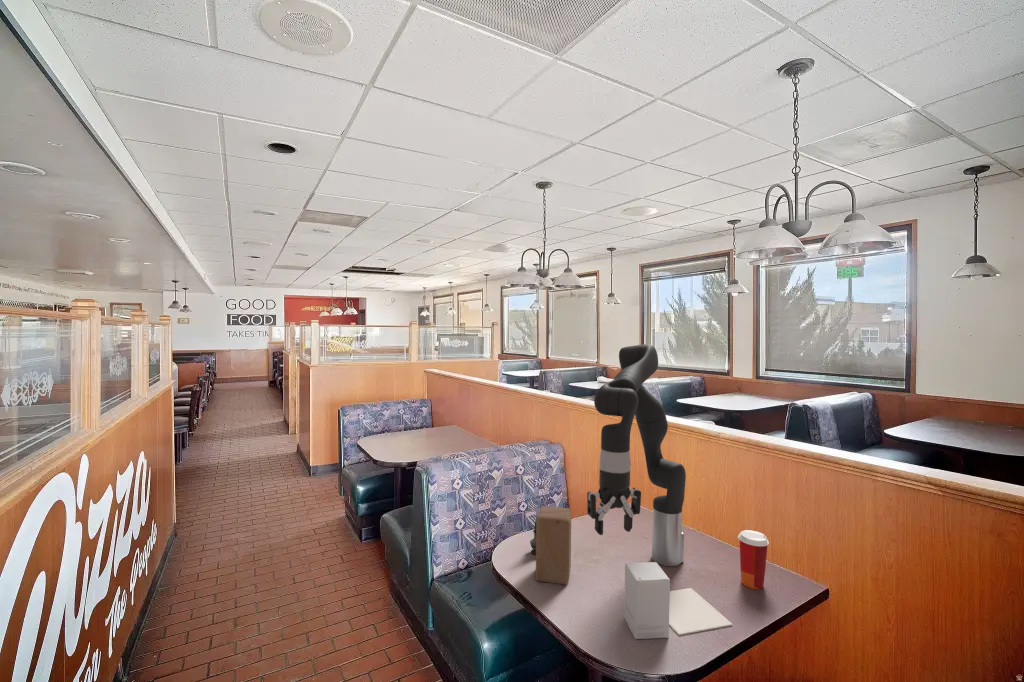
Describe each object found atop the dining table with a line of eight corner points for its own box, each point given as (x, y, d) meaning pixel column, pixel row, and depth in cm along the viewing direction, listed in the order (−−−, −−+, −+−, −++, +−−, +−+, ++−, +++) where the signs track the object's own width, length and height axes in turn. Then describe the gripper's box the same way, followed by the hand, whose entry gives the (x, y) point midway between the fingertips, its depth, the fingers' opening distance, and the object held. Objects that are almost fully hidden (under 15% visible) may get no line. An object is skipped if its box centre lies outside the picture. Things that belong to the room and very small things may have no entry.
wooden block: (568, 586, 137) (569, 520, 137) (535, 582, 139) (536, 517, 139) (570, 569, 147) (571, 507, 146) (539, 565, 149) (540, 504, 148)
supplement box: (670, 638, 115) (671, 579, 114) (635, 640, 114) (636, 580, 113) (656, 615, 124) (657, 561, 123) (623, 617, 123) (624, 562, 123)
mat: (690, 589, 136) (690, 587, 136) (732, 625, 120) (732, 624, 120) (642, 596, 132) (642, 595, 132) (678, 635, 116) (678, 634, 116)
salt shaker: (528, 548, 160) (529, 514, 160) (545, 548, 161) (545, 514, 160) (530, 557, 154) (531, 521, 154) (548, 556, 155) (548, 521, 155)
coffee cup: (764, 579, 142) (766, 531, 142) (770, 594, 134) (771, 543, 134) (734, 574, 145) (736, 527, 144) (738, 588, 137) (739, 538, 137)
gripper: (632, 461, 121) (631, 523, 121) (582, 464, 117) (581, 528, 117) (648, 469, 113) (646, 535, 114) (595, 473, 110) (593, 542, 110)
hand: (613, 531), depth 116 cm, fingers open, 7 cm apart
